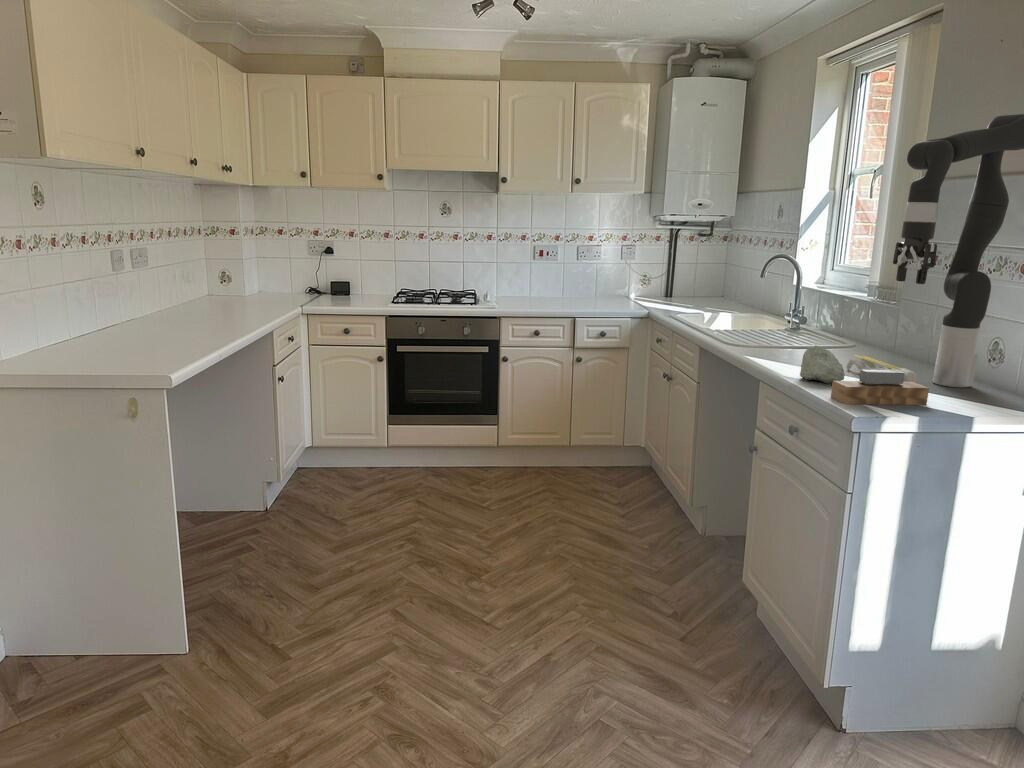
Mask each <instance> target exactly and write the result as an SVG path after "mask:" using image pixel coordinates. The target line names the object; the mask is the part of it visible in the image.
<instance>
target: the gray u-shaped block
mask: <svg viewBox="0 0 1024 768" xmlns="http://www.w3.org/2000/svg"><path fill="white" fill-rule="evenodd" d="M904 374H905V373H904V372H901V371H898V370H860V373H859V380H858V381H861V382H862V385H865V386H874V384H888V385H890V386H900V384H903V380H904Z"/></svg>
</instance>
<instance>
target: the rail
mask: <svg viewBox="0 0 1024 768" xmlns="http://www.w3.org/2000/svg"><path fill="white" fill-rule="evenodd" d="M831 385H832V387H831V393H830V398H832V399H833V400H836V401H838V402H840V403H842V404H844V405H890V406H891V405H895V406H897V405H898V406H899V405H901V406H903V405H905V406H909V405H910V406H927V405H928V404H927V403H928V397H929V392H930V387H927V386H925V385H922V384H919V383H917V382H916V383H914V382H905V381H904V382H903V384H900V386H890V385H888V384H874V386H865V385H862V382H861V381H859V380H842V381H833V384H831Z"/></svg>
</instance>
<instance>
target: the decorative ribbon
mask: <svg viewBox="0 0 1024 768" xmlns="http://www.w3.org/2000/svg"><path fill="white" fill-rule="evenodd" d="M854 356H855V357H858V358H860V361H858V360H856V359H854V358H850V359H849V361H848V363H846V369H847V370H848V371H850V370H851V369H852V366H853V365H855V366H856V367H857V368H858V370H860V371H858V370H855V372H857V373H858V374H860V373H861V370H898V371H901V372H904V373H905V374H904V380H903V382H914V383H917V382H918V375H917V374H916V372H914V371H912V370H910V369H908V368H905V367H898V366H895V365H892V364H888V363H886V362H883V361H880V360H877V359H874V358H871V357H869V356H865V355H862V356H861V355H860V356H859V355H855V354H854ZM875 363H876V364H878V365H880V367H877V365H876V364H875ZM881 365H882V366H881ZM867 366H868V367H867ZM883 366H884V367H883Z"/></svg>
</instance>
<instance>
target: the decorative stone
mask: <svg viewBox="0 0 1024 768" xmlns="http://www.w3.org/2000/svg"><path fill="white" fill-rule="evenodd" d="M801 361H802V362H801V366H800V372H799V376H800V377H801V378H802V379H804V380H806V381H814V380H815V381H819V382H821V383H823V384H828V385H832V384H833V381H845V374H846V373H845V369H844V367H843V365H842V363H840V361H839V359H838V358H837V357H836V355H835V354H834V353H833V352H831V351H830V350H829V349H827V348H825V347H823V346H821V345H817V344H815V345H813V346H809V347H807V349H806V350H805V351H804V353H803V354H802V360H801Z"/></svg>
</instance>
